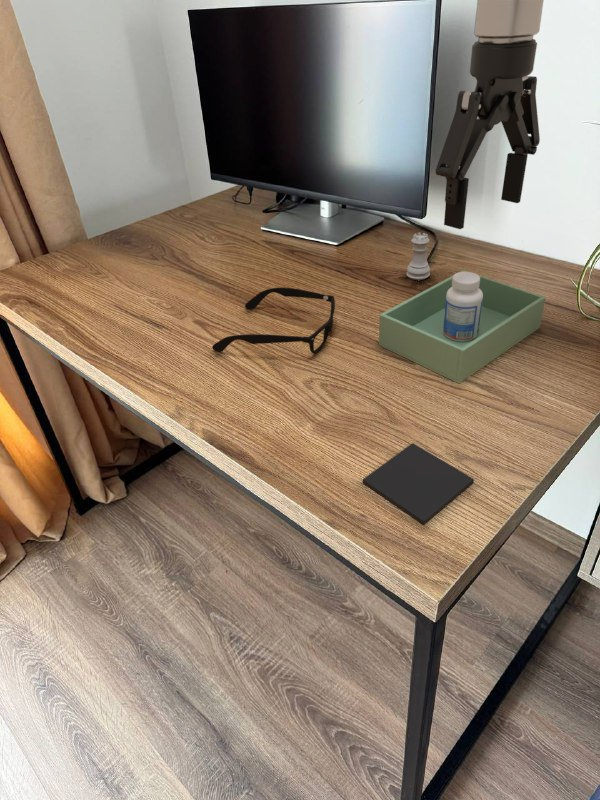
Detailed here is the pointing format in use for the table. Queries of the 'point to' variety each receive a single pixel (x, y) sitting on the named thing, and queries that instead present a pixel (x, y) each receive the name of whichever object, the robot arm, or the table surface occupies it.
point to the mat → (418, 482)
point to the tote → (428, 346)
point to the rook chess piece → (419, 258)
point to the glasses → (280, 338)
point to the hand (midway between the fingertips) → (483, 213)
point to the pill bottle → (463, 307)
